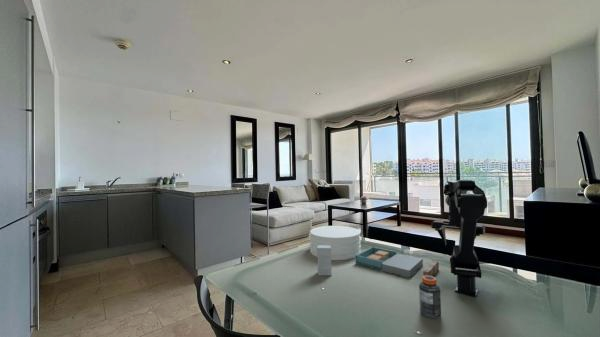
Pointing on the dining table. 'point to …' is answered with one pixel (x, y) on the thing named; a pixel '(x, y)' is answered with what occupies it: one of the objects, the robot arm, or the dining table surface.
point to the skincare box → (324, 260)
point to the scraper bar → (431, 268)
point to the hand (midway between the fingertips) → (457, 247)
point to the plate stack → (336, 241)
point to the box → (372, 263)
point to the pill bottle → (430, 297)
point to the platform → (402, 265)
